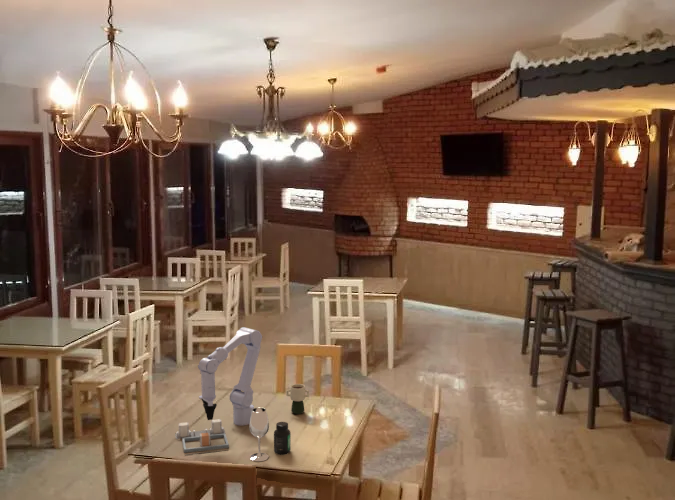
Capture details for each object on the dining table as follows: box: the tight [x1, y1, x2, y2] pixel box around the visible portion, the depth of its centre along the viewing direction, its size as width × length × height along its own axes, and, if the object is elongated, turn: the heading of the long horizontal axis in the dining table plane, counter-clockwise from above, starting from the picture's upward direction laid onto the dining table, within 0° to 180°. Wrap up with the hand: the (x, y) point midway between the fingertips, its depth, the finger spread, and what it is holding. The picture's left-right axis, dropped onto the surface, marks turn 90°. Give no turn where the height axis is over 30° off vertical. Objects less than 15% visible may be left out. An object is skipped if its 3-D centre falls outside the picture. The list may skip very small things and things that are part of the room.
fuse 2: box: [210, 418, 223, 434], centre depth 293 cm, size 4×3×5 cm
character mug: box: [285, 383, 310, 415], centre depth 319 cm, size 11×7×13 cm, turn 87°
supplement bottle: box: [273, 421, 292, 456], centre depth 276 cm, size 7×7×12 cm
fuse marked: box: [199, 433, 211, 447], centre depth 280 cm, size 4×3×5 cm
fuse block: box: [174, 426, 227, 440], centre depth 292 cm, size 21×6×3 cm, turn 106°
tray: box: [181, 434, 230, 456], centre depth 281 cm, size 18×12×2 cm, turn 106°
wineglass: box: [248, 406, 270, 462], centre depth 270 cm, size 8×8×20 cm
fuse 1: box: [178, 421, 190, 437], centre depth 289 cm, size 4×3×5 cm
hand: (209, 416), depth 290 cm, fingers open, 7 cm apart
